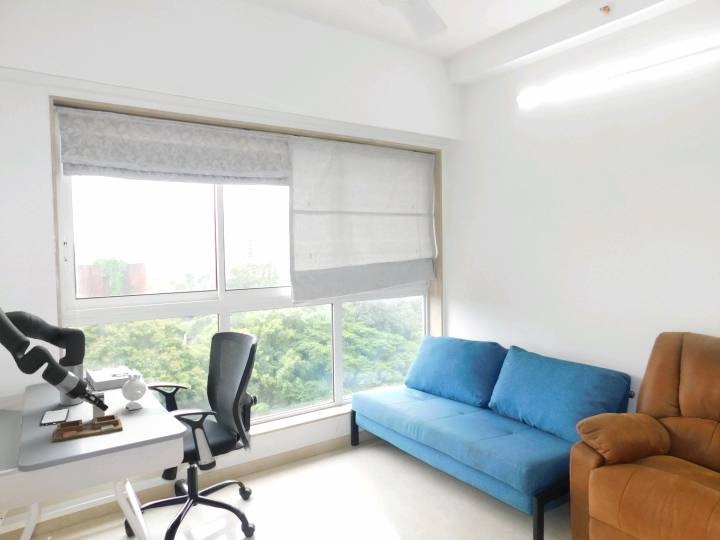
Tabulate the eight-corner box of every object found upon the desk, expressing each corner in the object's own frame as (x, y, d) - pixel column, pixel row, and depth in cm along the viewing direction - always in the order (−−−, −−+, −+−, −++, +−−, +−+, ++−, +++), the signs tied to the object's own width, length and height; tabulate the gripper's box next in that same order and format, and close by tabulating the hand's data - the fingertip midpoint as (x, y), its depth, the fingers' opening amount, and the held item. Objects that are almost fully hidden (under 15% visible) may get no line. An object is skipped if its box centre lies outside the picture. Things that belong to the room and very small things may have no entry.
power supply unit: (124, 373, 273) (124, 364, 273) (137, 386, 247) (137, 376, 247) (86, 378, 262) (85, 369, 262) (95, 392, 236) (95, 382, 236)
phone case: (66, 424, 192) (69, 411, 206) (66, 420, 192) (69, 408, 206) (39, 428, 188) (44, 415, 202) (39, 424, 188) (44, 411, 202)
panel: (54, 431, 182) (54, 423, 182) (119, 420, 193) (119, 413, 193) (53, 442, 171) (53, 433, 171) (122, 430, 183) (122, 422, 183)
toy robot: (118, 405, 213) (117, 371, 213) (141, 401, 219) (140, 368, 219) (127, 413, 202) (126, 378, 201) (151, 409, 208) (150, 374, 207)
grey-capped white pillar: (93, 418, 196) (92, 393, 196) (104, 416, 198) (103, 392, 198) (93, 421, 193) (92, 396, 192) (104, 419, 195) (104, 394, 194)
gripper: (55, 389, 190) (89, 412, 199) (70, 396, 181) (104, 419, 190) (70, 373, 194) (102, 396, 203) (85, 379, 184) (118, 402, 194)
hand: (103, 407), depth 197 cm, fingers closed on grey-capped white pillar, 5 cm apart
